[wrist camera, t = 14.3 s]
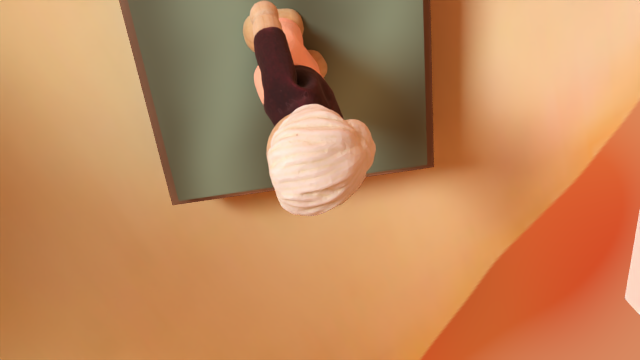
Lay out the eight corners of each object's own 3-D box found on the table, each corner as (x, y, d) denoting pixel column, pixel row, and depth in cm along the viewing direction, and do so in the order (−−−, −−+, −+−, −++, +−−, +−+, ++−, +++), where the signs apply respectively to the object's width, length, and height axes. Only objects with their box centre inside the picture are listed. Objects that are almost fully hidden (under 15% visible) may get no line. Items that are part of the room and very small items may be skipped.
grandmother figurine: (203, 23, 26) (167, 129, 15) (270, -33, 25) (285, 34, 14) (309, 144, 29) (344, 307, 18) (371, 98, 28) (448, 238, 17)
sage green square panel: (179, 176, 34) (171, 210, 30) (113, -89, 27) (93, -85, 24) (417, 142, 34) (436, 172, 31) (408, -126, 28) (431, -127, 24)
